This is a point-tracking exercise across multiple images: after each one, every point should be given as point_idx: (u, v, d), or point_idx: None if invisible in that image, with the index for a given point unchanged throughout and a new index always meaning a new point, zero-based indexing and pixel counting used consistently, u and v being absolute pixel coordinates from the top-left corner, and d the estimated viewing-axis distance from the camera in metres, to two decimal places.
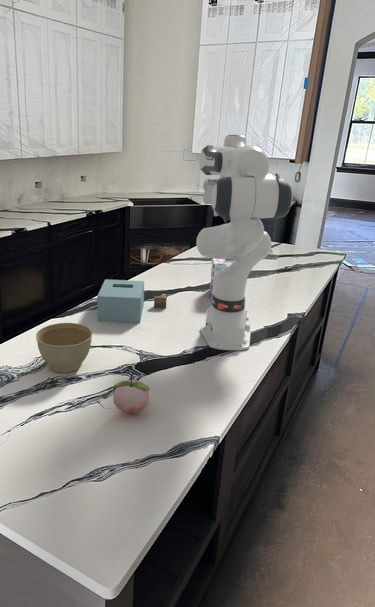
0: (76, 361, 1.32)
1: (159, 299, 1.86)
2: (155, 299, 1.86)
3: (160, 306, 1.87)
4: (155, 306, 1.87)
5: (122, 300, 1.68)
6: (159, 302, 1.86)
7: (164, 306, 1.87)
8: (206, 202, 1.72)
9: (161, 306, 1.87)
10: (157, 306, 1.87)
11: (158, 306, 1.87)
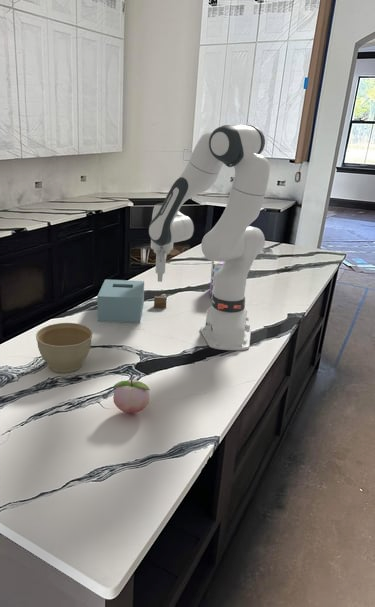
0: (76, 361, 1.32)
1: (159, 299, 1.86)
2: (155, 299, 1.86)
3: (160, 306, 1.87)
4: (155, 306, 1.87)
5: (122, 300, 1.68)
6: (159, 302, 1.86)
7: (164, 306, 1.87)
8: (164, 271, 1.74)
9: (161, 306, 1.87)
10: (157, 306, 1.87)
11: (158, 306, 1.87)
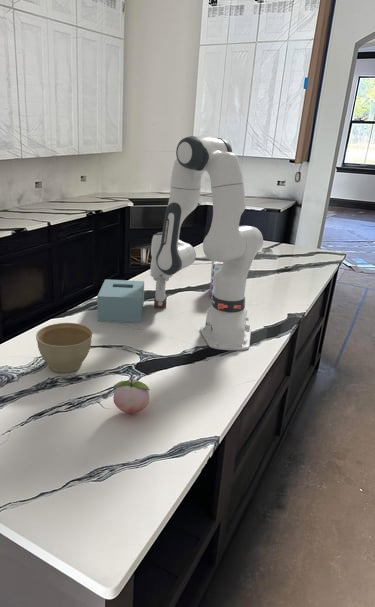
0: (76, 361, 1.32)
1: None
2: (155, 299, 1.86)
3: (160, 306, 1.87)
4: (155, 306, 1.87)
5: (122, 300, 1.68)
6: None
7: (164, 306, 1.87)
8: (164, 299, 1.77)
9: (161, 306, 1.87)
10: (157, 306, 1.87)
11: (158, 306, 1.87)
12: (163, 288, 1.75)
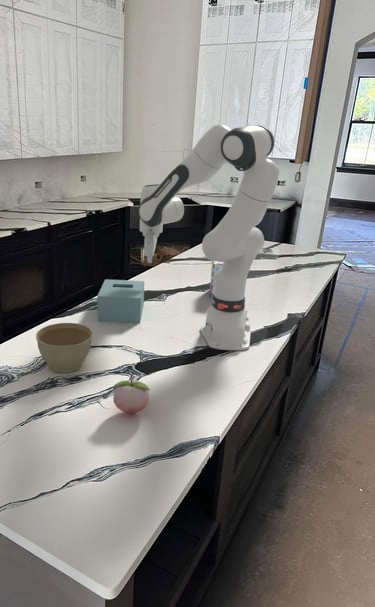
0: (76, 361, 1.32)
1: None
2: (144, 256, 1.78)
3: (150, 264, 1.79)
4: (144, 264, 1.79)
5: (122, 300, 1.68)
6: None
7: (154, 264, 1.79)
8: (153, 254, 1.70)
9: (151, 264, 1.79)
10: (146, 264, 1.79)
11: (148, 264, 1.79)
12: (152, 242, 1.67)
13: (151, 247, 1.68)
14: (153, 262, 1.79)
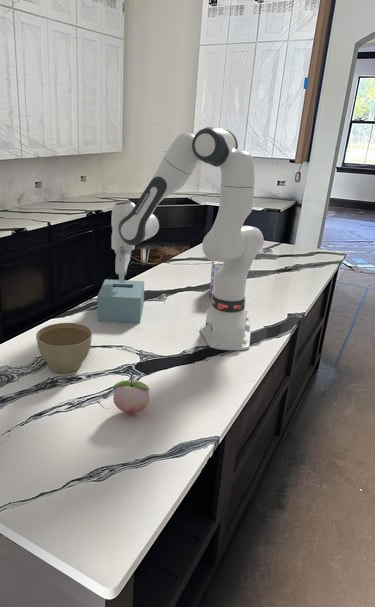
0: (76, 361, 1.32)
1: None
2: None
3: None
4: None
5: (122, 300, 1.68)
6: None
7: None
8: (125, 272, 1.69)
9: None
10: None
11: None
12: (123, 260, 1.66)
13: (122, 265, 1.67)
14: None
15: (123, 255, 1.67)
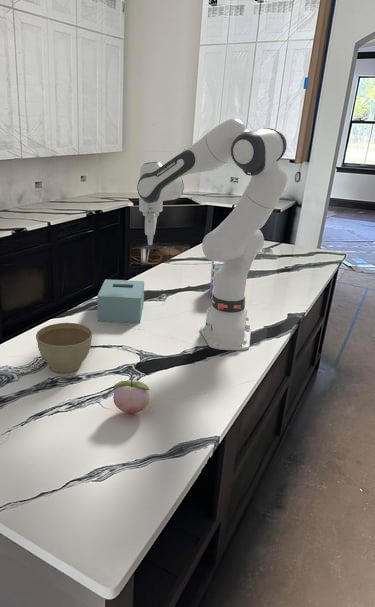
0: (76, 361, 1.32)
1: None
2: None
3: None
4: None
5: (122, 300, 1.68)
6: None
7: None
8: (154, 233, 1.67)
9: None
10: None
11: None
12: (153, 220, 1.65)
13: (152, 225, 1.65)
14: None
15: (152, 215, 1.65)
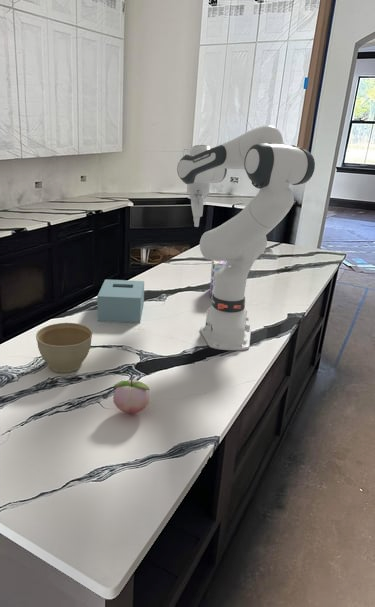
0: (76, 361, 1.32)
1: None
2: None
3: None
4: None
5: (122, 300, 1.68)
6: None
7: None
8: (202, 214, 1.72)
9: None
10: None
11: None
12: (201, 202, 1.69)
13: (200, 207, 1.70)
14: None
15: (201, 197, 1.70)
